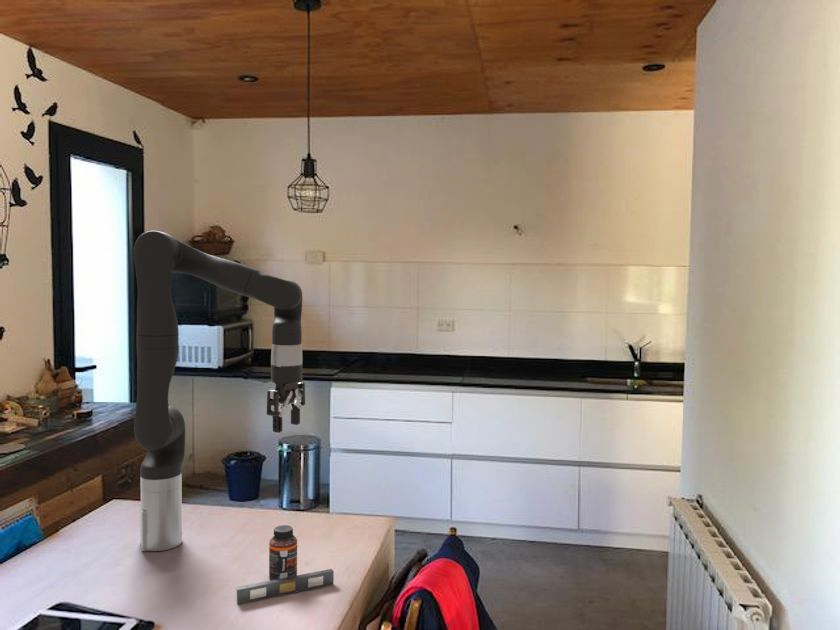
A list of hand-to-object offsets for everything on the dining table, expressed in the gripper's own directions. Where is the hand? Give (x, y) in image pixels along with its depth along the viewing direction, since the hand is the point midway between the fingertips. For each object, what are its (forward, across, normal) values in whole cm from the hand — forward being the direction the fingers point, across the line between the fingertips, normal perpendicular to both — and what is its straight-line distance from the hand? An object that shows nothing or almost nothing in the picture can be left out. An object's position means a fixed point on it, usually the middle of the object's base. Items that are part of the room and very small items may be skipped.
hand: (286, 428), depth 160 cm
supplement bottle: (+28, +19, +10) cm, 35 cm away
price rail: (+28, +24, +14) cm, 39 cm away
